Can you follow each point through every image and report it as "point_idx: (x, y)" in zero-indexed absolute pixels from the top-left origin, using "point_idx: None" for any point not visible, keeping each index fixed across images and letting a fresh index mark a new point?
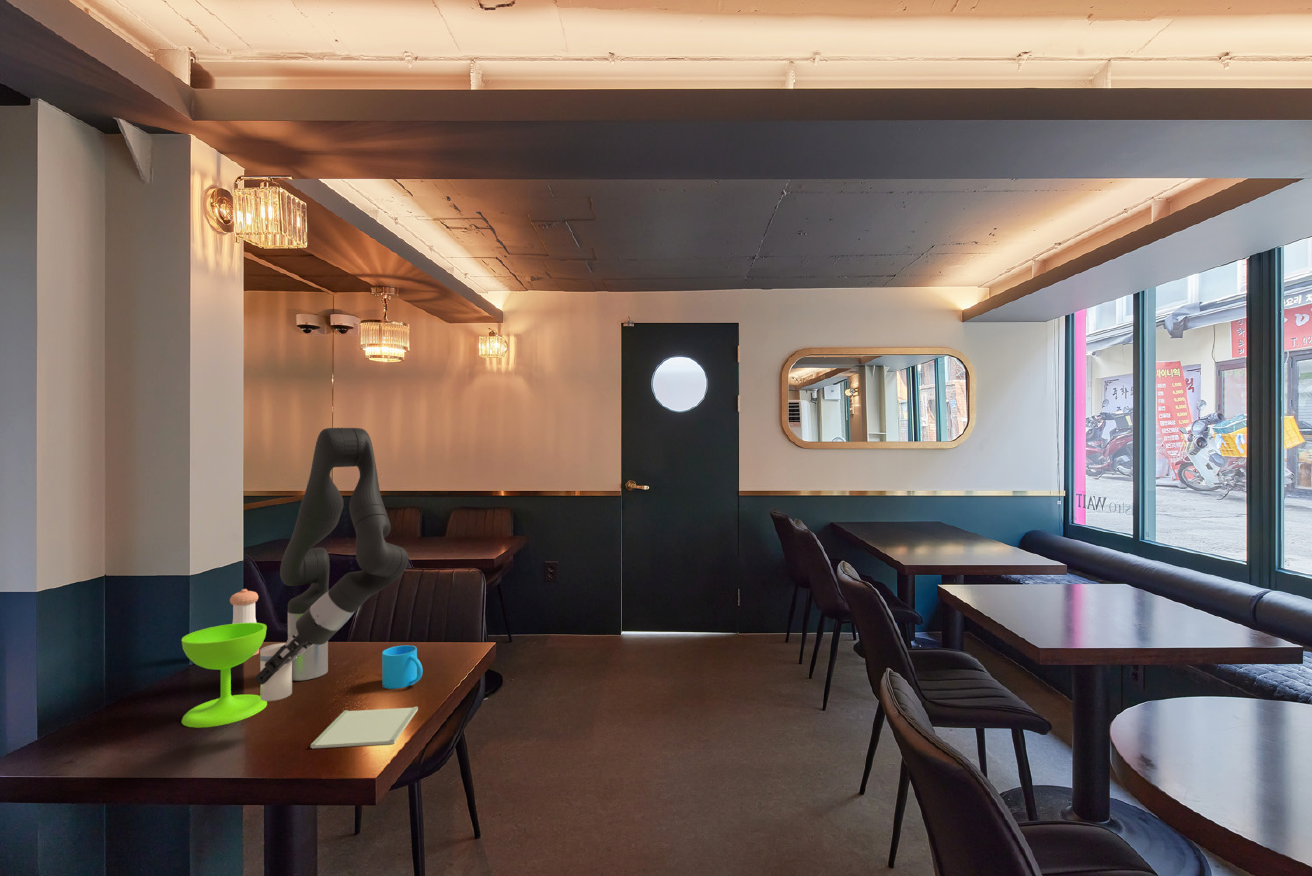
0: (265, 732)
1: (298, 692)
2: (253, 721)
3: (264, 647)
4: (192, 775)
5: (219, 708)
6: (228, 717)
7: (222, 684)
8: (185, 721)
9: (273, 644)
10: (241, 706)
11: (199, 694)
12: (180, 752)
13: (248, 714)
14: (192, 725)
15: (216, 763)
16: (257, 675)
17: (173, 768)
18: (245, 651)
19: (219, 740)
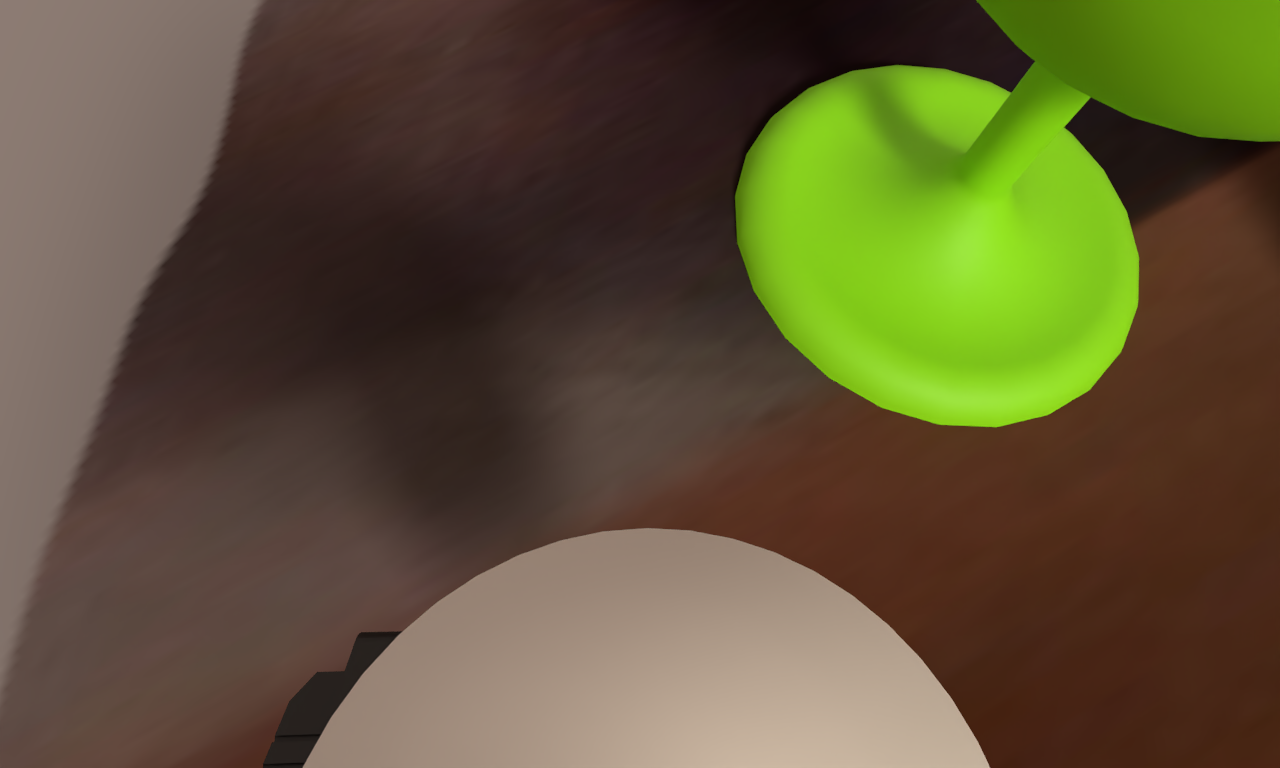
0: None
1: (1259, 519)
2: (807, 463)
3: (688, 561)
4: (73, 512)
5: (891, 206)
6: (806, 308)
7: (1002, 111)
8: (780, 112)
9: (915, 666)
10: (954, 302)
11: None
12: (425, 278)
13: (877, 391)
14: (745, 165)
15: (208, 569)
16: (351, 666)
17: (215, 351)
18: (1172, 78)
19: (550, 405)
